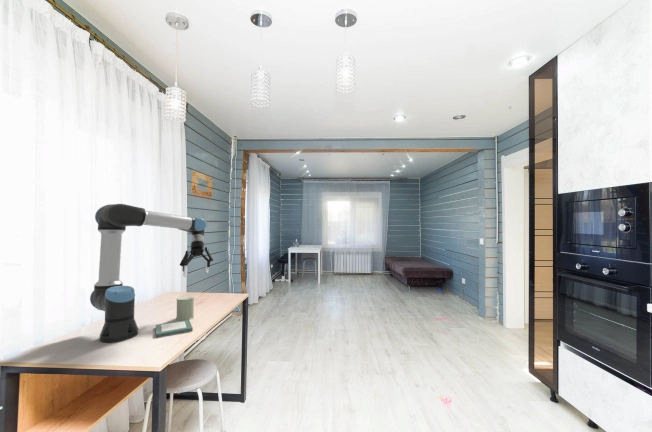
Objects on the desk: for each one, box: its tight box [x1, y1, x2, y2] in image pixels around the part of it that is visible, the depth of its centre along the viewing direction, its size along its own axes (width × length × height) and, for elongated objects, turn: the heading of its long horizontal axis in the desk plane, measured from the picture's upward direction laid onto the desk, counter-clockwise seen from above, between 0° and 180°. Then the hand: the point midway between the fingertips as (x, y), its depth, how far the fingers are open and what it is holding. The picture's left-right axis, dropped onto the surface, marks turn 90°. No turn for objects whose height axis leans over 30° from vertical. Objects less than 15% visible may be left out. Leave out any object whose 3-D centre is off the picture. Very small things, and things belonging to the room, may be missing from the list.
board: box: [154, 319, 193, 338], centre depth 148 cm, size 16×16×2 cm
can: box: [176, 295, 195, 321], centre depth 167 cm, size 9×9×12 cm
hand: (195, 274), depth 175 cm, fingers open, 13 cm apart
